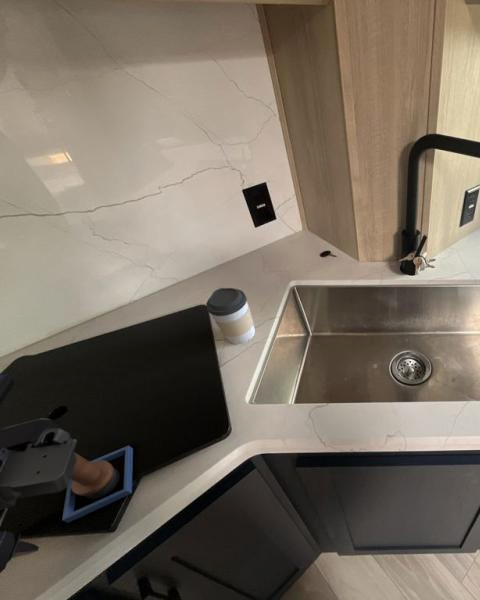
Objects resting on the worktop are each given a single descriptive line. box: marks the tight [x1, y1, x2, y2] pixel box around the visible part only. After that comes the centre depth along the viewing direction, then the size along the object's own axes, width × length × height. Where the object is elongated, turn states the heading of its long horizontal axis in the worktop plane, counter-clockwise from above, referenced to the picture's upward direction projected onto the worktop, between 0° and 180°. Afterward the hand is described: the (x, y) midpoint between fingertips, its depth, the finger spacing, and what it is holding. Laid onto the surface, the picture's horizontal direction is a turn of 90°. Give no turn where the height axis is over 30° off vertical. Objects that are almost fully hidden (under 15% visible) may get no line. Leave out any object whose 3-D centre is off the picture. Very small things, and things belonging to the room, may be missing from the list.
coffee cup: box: [205, 287, 256, 345], centre depth 83 cm, size 9×9×15 cm
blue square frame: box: [61, 445, 134, 524], centre depth 59 cm, size 9×9×2 cm
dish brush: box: [71, 451, 121, 500], centre depth 56 cm, size 6×6×12 cm
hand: (47, 513), depth 46 cm, fingers open, 9 cm apart
